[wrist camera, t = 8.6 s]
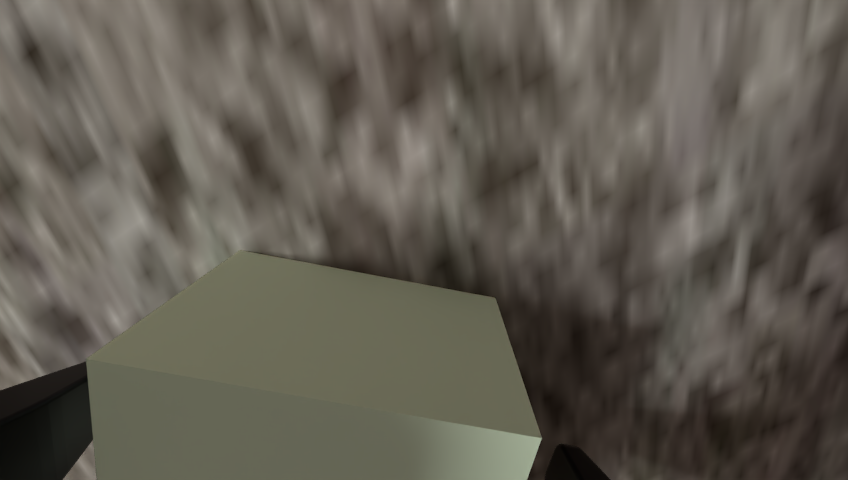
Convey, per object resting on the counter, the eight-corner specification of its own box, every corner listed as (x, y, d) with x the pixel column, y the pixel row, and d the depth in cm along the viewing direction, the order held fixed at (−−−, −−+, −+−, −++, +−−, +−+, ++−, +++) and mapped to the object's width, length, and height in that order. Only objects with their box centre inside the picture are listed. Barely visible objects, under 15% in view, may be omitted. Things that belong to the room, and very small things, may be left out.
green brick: (494, 294, 9) (542, 438, 5) (443, 481, 10) (448, 696, 6) (243, 247, 8) (85, 358, 5) (233, 445, 10) (111, 647, 6)
